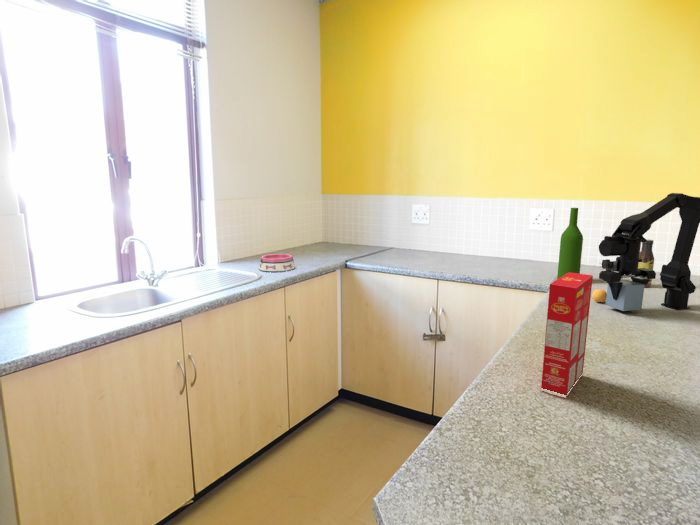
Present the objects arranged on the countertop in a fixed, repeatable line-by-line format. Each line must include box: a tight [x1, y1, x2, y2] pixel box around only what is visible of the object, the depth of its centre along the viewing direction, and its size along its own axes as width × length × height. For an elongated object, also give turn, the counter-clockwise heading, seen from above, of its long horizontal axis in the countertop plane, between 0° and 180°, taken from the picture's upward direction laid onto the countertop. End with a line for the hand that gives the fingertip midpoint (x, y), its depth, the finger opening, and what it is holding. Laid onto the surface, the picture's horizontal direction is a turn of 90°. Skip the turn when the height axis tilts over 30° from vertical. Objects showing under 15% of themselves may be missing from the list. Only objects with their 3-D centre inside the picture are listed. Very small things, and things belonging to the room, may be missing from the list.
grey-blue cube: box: [605, 279, 645, 312], centre depth 160 cm, size 8×8×9 cm
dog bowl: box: [258, 253, 296, 274], centre depth 234 cm, size 18×19×7 cm
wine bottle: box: [556, 207, 584, 280], centre depth 202 cm, size 9×9×32 cm
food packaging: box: [540, 272, 593, 395], centre depth 105 cm, size 15×5×25 cm, turn 141°
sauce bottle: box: [638, 238, 655, 288], centre depth 193 cm, size 7×6×20 cm
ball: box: [591, 288, 607, 303], centre depth 171 cm, size 5×5×5 cm
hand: (624, 298), depth 160 cm, fingers closed on grey-blue cube, 8 cm apart
